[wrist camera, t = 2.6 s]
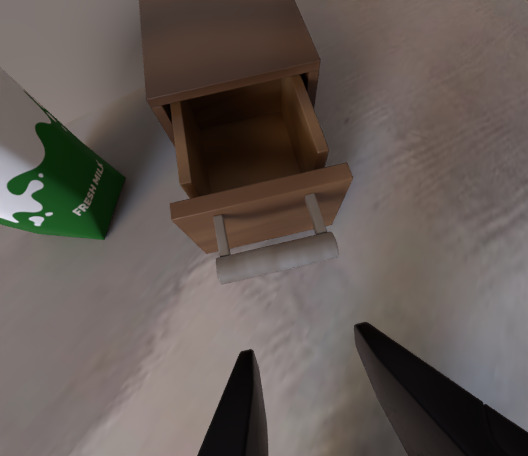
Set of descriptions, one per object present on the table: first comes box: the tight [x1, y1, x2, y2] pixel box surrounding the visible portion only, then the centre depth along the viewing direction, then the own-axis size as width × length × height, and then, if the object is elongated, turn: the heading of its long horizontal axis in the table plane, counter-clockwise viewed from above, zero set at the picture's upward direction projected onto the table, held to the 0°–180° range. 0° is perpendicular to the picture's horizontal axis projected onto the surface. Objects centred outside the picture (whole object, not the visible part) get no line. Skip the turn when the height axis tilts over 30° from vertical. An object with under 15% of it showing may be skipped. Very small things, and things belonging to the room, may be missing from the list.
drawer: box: [170, 74, 353, 284], centre depth 21 cm, size 18×11×8 cm, turn 12°
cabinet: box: [139, 0, 320, 147], centre depth 26 cm, size 15×13×10 cm
